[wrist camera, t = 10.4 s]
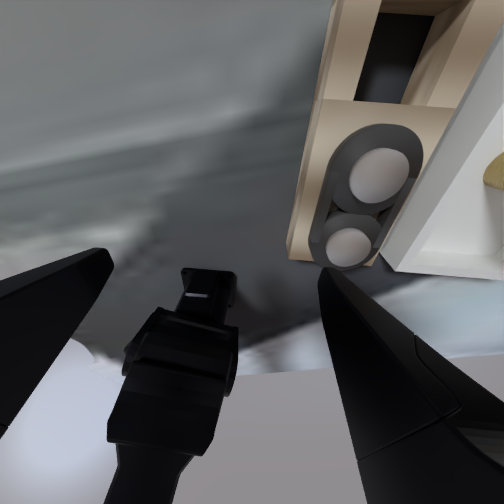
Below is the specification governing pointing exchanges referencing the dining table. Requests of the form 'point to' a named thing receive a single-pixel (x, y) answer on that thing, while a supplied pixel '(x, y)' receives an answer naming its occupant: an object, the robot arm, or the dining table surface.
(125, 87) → the dining table surface
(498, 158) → the lock pin
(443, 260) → the tray
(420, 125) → the plate
